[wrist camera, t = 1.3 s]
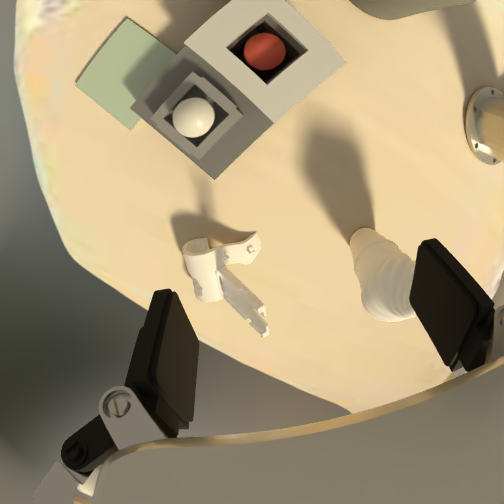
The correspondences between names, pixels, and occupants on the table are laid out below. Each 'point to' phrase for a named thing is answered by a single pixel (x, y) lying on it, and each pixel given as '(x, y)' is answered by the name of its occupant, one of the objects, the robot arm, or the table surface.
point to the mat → (124, 71)
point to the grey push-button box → (236, 80)
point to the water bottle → (403, 7)
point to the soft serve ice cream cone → (382, 275)
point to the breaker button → (264, 51)
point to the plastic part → (225, 276)
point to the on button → (193, 117)
